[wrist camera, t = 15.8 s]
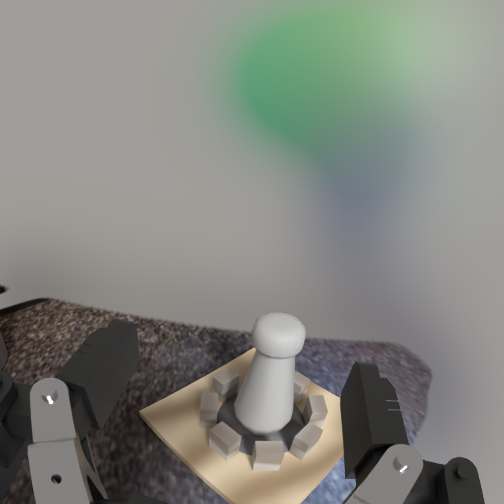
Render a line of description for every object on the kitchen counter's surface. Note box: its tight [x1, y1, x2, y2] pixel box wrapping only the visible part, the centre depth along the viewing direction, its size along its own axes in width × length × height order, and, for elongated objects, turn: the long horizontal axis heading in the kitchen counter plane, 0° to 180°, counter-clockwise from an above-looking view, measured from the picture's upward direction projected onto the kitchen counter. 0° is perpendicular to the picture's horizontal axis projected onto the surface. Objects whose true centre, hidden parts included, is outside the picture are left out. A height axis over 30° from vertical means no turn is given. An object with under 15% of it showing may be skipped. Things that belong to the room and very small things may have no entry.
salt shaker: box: [234, 312, 306, 436], centre depth 27 cm, size 6×6×13 cm
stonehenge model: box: [139, 348, 344, 504], centre depth 30 cm, size 18×18×4 cm
